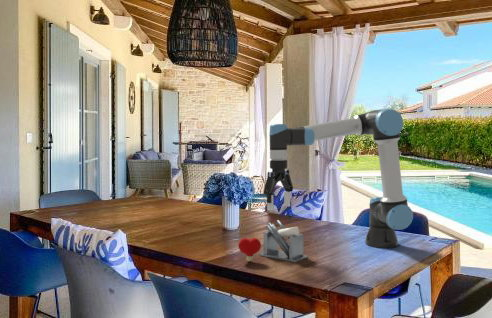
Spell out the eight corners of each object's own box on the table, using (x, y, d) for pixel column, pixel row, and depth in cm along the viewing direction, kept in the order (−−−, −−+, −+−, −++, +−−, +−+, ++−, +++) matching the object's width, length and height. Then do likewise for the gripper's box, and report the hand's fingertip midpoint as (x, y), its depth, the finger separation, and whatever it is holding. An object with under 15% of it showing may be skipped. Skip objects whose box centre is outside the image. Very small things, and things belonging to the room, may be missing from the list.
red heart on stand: (260, 259, 207) (260, 236, 206) (261, 264, 200) (261, 239, 199) (238, 259, 206) (238, 236, 206) (238, 264, 199) (238, 240, 199)
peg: (281, 229, 214) (298, 226, 209) (283, 237, 214) (299, 234, 208) (276, 229, 212) (293, 226, 206) (278, 238, 211) (295, 235, 205)
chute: (307, 257, 211) (307, 222, 210) (295, 262, 203) (295, 226, 202) (272, 251, 221) (272, 218, 220) (259, 255, 213) (260, 221, 212)
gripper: (286, 157, 223) (286, 203, 225) (254, 161, 204) (255, 211, 205) (300, 158, 219) (300, 205, 220) (269, 161, 199) (270, 213, 200)
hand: (278, 208), depth 213 cm, fingers open, 13 cm apart
